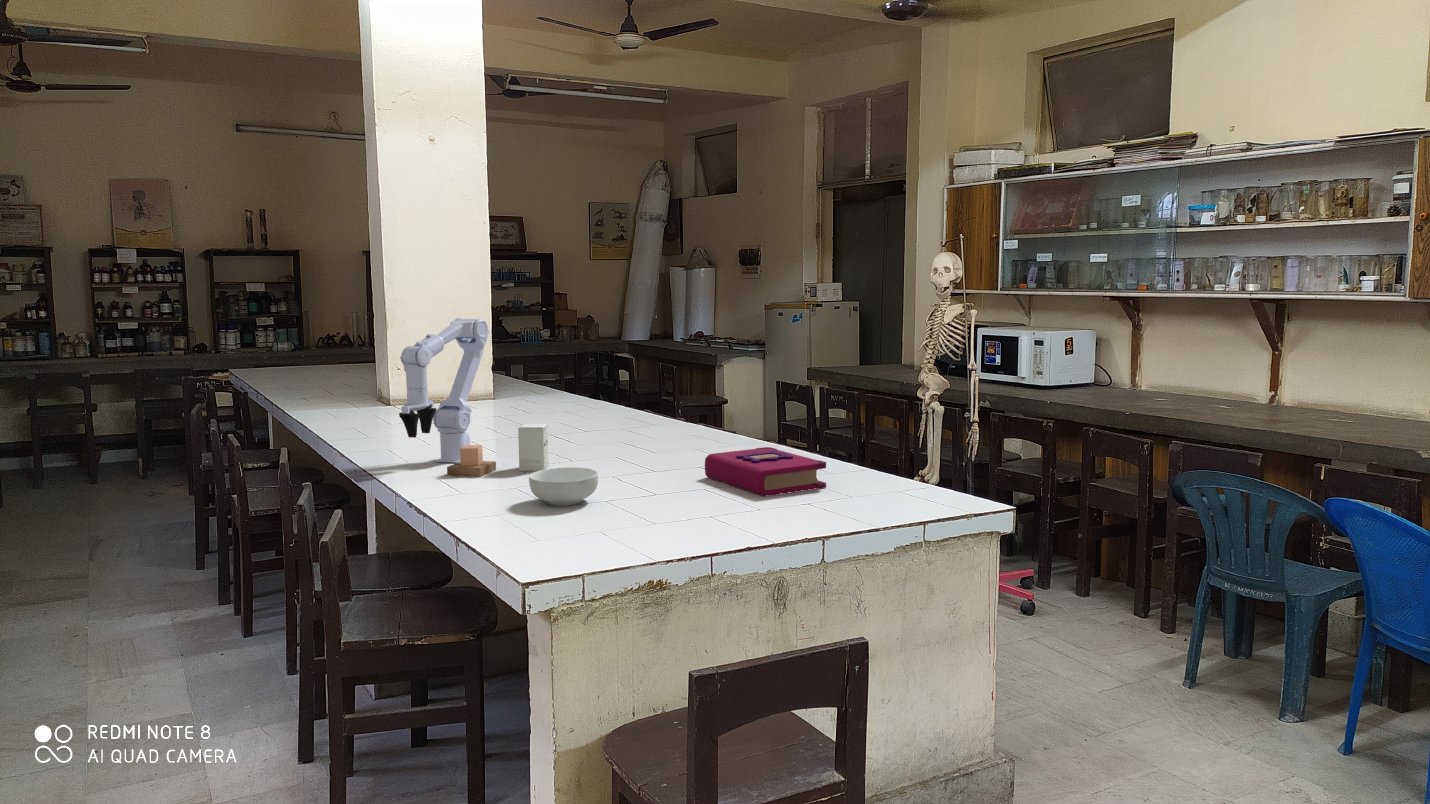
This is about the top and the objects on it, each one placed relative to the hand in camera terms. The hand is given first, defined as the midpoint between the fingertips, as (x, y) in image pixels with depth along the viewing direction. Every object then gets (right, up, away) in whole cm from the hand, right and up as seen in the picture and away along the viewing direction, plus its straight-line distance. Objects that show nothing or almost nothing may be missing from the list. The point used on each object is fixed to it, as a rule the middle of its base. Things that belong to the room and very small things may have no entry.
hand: (419, 435), depth 281 cm
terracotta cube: (+16, -8, -5) cm, 19 cm away
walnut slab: (+16, -11, -4) cm, 20 cm away
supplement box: (+33, -10, +1) cm, 34 cm away
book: (+98, -13, -20) cm, 101 cm away
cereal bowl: (+48, -15, -41) cm, 65 cm away
